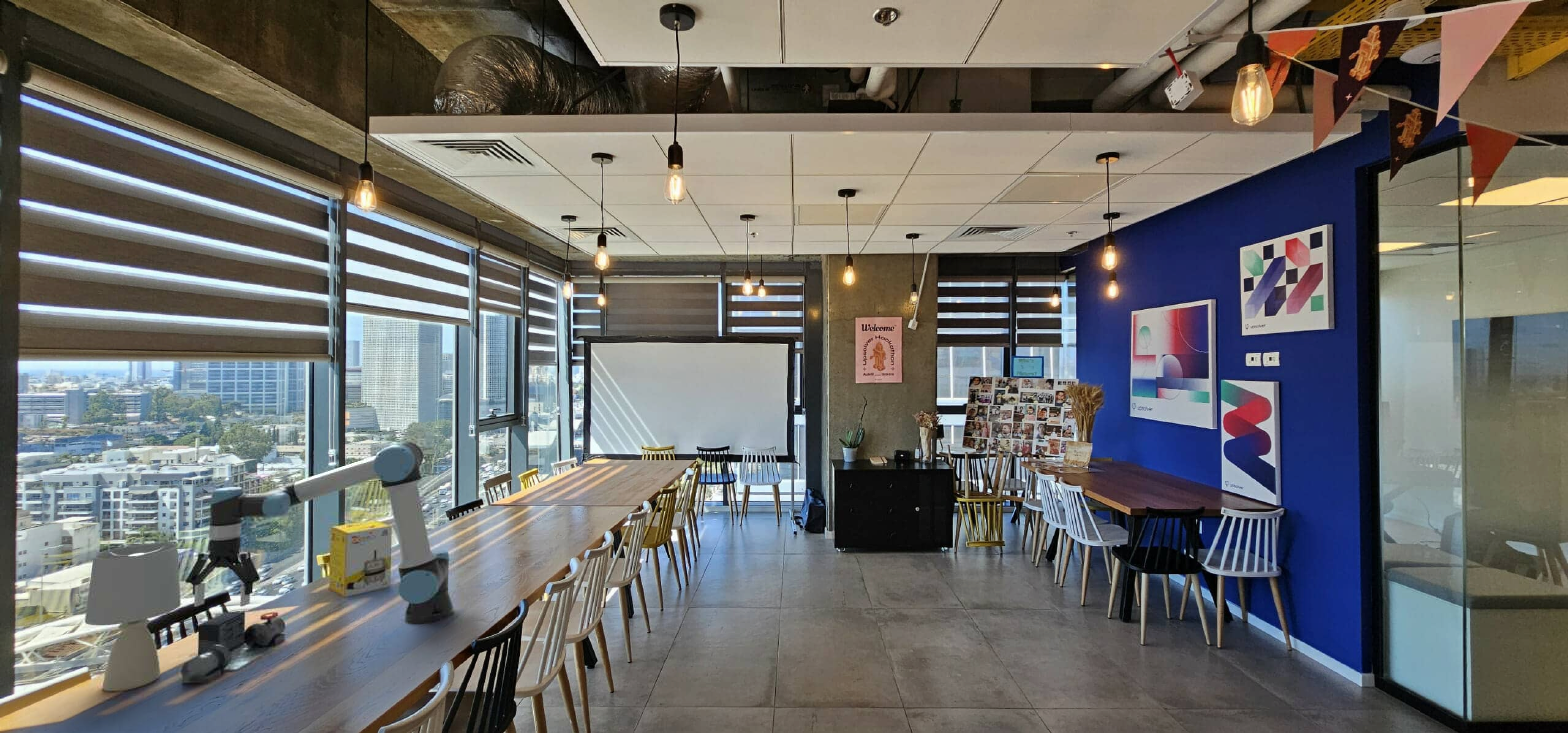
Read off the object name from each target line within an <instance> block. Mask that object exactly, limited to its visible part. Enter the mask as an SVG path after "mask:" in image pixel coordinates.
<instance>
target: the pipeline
mask: <svg viewBox="0 0 1568 733" xmlns="http://www.w3.org/2000/svg"><path fill="white" fill-rule="evenodd" d="M278 616H279V612H276V611H273V612H272V611H271V612H267V613H264V614H261V615H260V620H262V621H264V622H256V623H253V624H251V625H250V626H248V627H247V628H245V632H244V637H243V638H244V642H245V643H244V645H245V646H247V647H237V648H235V649H234V650H232V651H229V649H228V648H227V647H225V646H223V645H220V644H215V645H212V646H209V647H207V648H206V649H205V650H203V652H202V653H201V655H199V656H198V655H197V656H196V657H194V658H192V659H190V660H188V661H186V662H185V663H183V665H182V667H181V671H180V672H181V676H182V677H181V679H182V681H181V684H182V683H201V684H210V683H211V681H212V680H214V681H215V680H217V679H219V678H221V677H220V676H222V674H221V673H222V672H238V671H239V670H241V669H244V668H245V667H246V666H249V665H250V664H251V663H253V662H255V661H257V660H259V659H260V658H262V657H264V656H265V655H268V654H269V653H270V652H273V651H274V650H275V647H267V646H277V645H278V644H280V643H281V642H283V641H285V633H284V632H285V629H286V623H285V621H284V620H283V619H282V618H280V617H278ZM218 677H219V678H218ZM209 682H210V683H209ZM212 682H213V681H212Z"/></svg>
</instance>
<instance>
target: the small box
mask: <svg viewBox="0 0 1568 733" xmlns="http://www.w3.org/2000/svg"><path fill="white" fill-rule="evenodd" d="M245 618H246V612H245V610H244V611H225V612H223V613H221V614H218V615H217V616H215V617H212V618H211V619H209V620H206V621H204V622H202V623H200V624H198V628H197V629H198V630H197V631H198V635H197V636H198V637H197V638H198V639H197V640H198V641H197V643H198V644H197V646H198V647H197V656H199V655H201V653H202V652H203V650H205V649H206V648H207V647H209V646H212V645H215V644H220V645H223V646H225V647H227V648H228V649H229V651H230V652H231V651H233V650H235V649H237V648H240V647H241V646H243V645H245V642H244V638H243V637H244V632H245V630H246V628H245V626H246V624H245V623H246V619H245Z"/></svg>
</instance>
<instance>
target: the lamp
mask: <svg viewBox="0 0 1568 733" xmlns="http://www.w3.org/2000/svg"><path fill="white" fill-rule="evenodd" d="M179 565H180V564H179V550H178V544H176V543H172V542H154V543H153V542H152V543H151V542H150V543H143V544H134V545H125V546H121V547H120V546H119V547H116V548H112V549H107V550H103V551H100V552H97V553H96V554H94V555H93V558H92V564H91V573H90V579H89V580H90V581H89V588H88V595H87V602H86V610H85V617H84V623H85V625H91V626H113V625H118V629H119V630H120V633H119V635H118V636H117V638H116V640H115V642H114V644H113V646H112V648H111V650H110V653H109V657H108V659H107V665H106V667H105V672H104V677H103V683H102V688H103V690H104V691H105V692H110V693H111V691H113V692H114V691H116V692H124V691H129V690H133V689H137V688H141V687H143V686H146V685H148V684H150V683H153V682H154V681H156V680H157V679H158V678H159V677H160V676H161V668H160V660H159V655H158V650H157V645H156V641H155V640H154V637H153V635H152V633H151V632H150V630H149V629H148V627H147V626H148V624H149V623H150V620H149V619H151V618H155V617H160V616H162V615H165V614H168V613H170V612H173V611H174V610H177V609H178V608H179V607H181V605H182V604H181V602H182V601H181V586H180V584H181V583H180V569H179ZM159 675H160V676H159ZM113 692H112V693H113ZM114 693H115V692H114Z"/></svg>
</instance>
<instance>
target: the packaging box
mask: <svg viewBox="0 0 1568 733" xmlns="http://www.w3.org/2000/svg"><path fill="white" fill-rule="evenodd" d="M392 529H393V527H392V525H390V524H388V523H384V522H382V521H379V520H374V519H373V520H368V521H362V522H355V523H348V524H343V525H336V526H331V527H330V535H329V536H330V538H329V539H330V541H329V543H330V544H329V545H330V546H329V573H328V575H329V576H328V589H329V590H331V591H332V592H334V593H337V594H338V595H340V596H342V597H343V598H346V597H351V596H356V595H360V594H363V593H368V592H372V591H376V590H380V589H384V588H389V587H391V568H392V565H391V563H392Z"/></svg>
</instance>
